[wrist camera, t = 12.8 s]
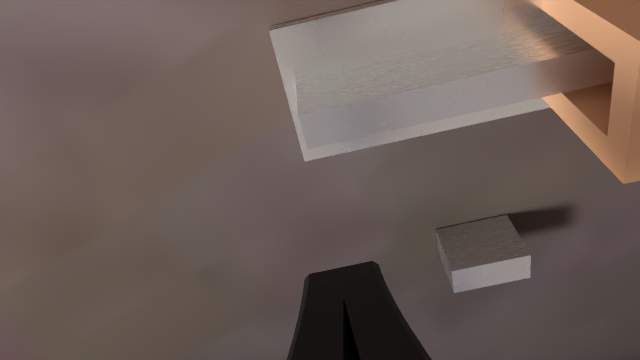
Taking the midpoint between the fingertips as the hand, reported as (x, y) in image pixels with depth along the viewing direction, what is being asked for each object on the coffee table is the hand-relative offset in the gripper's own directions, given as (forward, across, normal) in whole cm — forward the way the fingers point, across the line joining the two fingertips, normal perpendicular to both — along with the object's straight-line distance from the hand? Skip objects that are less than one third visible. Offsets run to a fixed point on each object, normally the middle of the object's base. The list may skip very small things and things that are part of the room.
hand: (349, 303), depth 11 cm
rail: (+10, -8, 0) cm, 13 cm away
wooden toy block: (+10, -5, +8) cm, 14 cm away
